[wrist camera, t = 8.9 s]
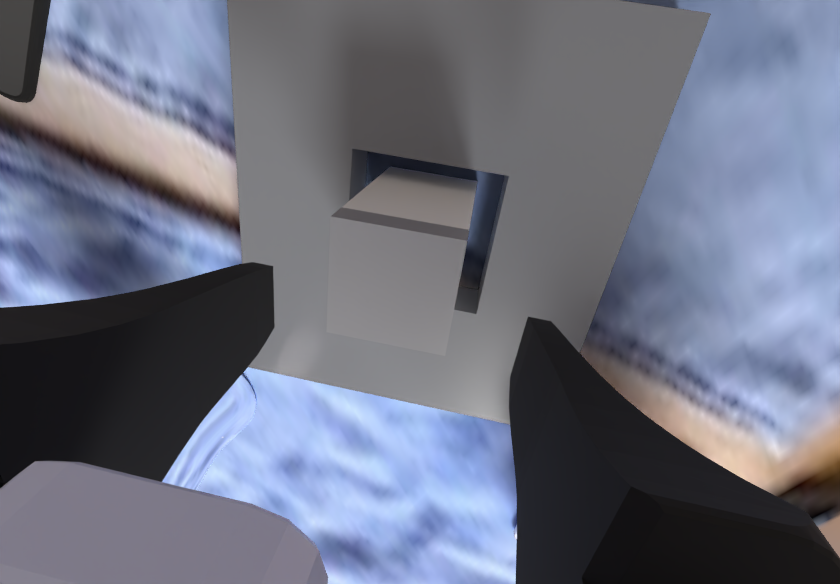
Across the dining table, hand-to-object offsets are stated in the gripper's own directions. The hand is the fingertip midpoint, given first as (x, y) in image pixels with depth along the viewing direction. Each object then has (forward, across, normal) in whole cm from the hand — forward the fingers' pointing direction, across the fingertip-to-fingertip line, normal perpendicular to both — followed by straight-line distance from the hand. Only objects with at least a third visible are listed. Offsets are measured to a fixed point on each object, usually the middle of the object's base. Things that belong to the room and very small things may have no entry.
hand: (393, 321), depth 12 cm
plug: (+9, 0, 0) cm, 9 cm away
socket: (+9, 0, 0) cm, 9 cm away
